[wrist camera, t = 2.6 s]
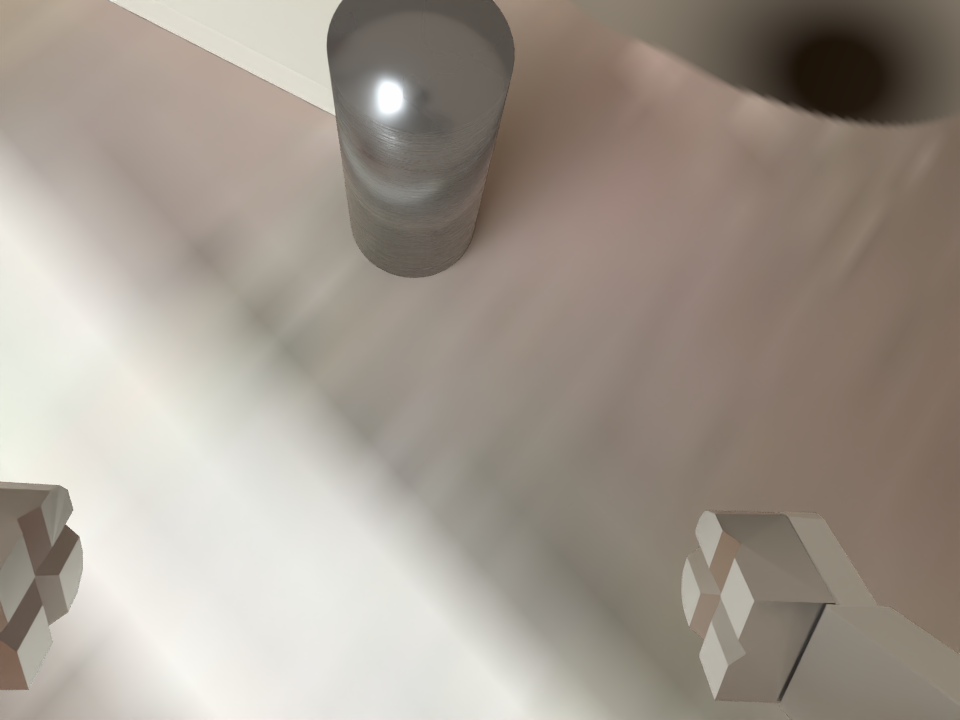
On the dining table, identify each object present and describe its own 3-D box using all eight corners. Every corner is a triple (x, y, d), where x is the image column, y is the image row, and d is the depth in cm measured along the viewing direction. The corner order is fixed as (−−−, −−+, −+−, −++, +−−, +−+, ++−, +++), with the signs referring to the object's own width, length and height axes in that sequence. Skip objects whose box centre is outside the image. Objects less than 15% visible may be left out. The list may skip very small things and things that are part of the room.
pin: (327, 242, 25) (291, 77, 16) (387, 142, 26) (383, -62, 17) (439, 298, 25) (462, 164, 16) (495, 197, 26) (544, 19, 17)
